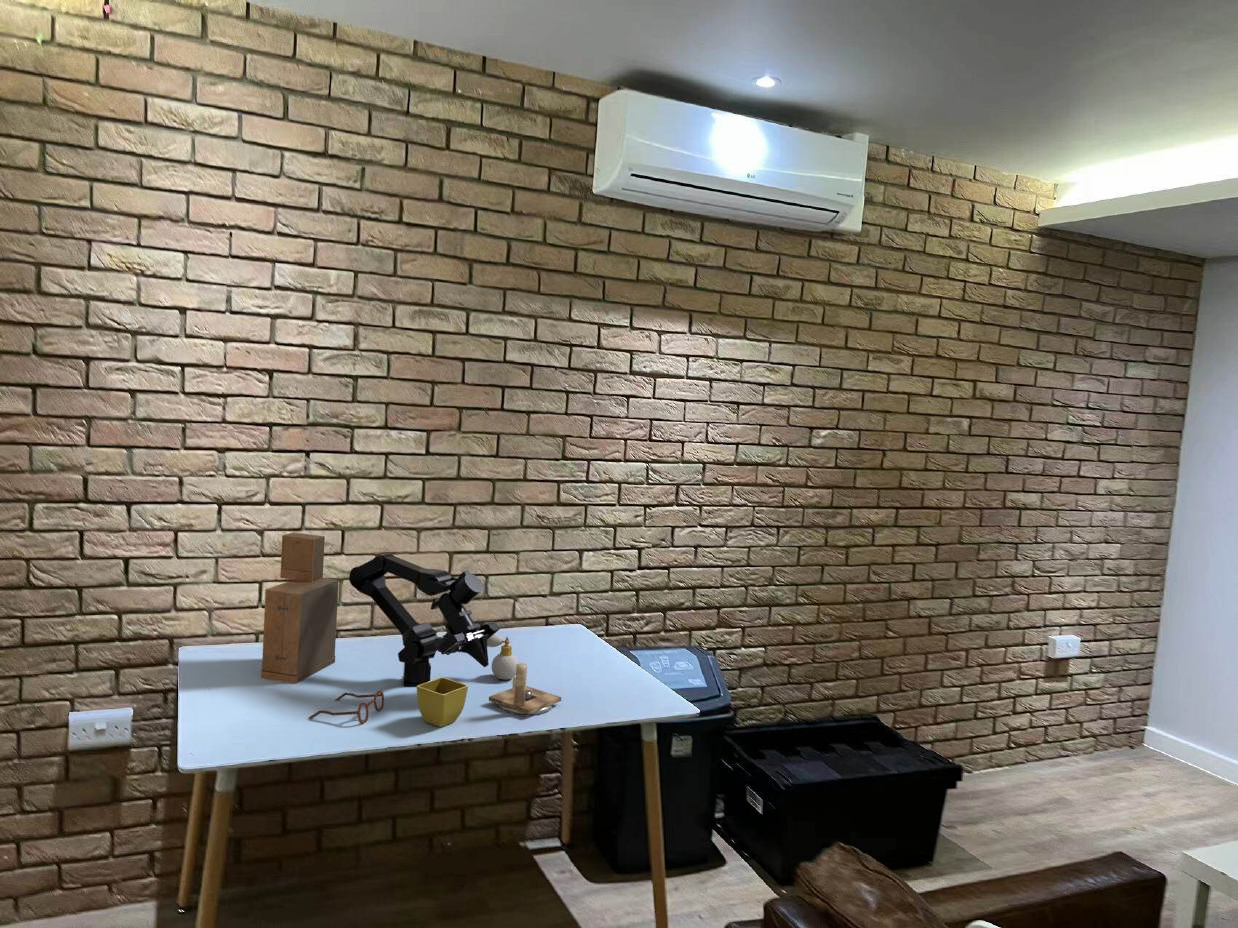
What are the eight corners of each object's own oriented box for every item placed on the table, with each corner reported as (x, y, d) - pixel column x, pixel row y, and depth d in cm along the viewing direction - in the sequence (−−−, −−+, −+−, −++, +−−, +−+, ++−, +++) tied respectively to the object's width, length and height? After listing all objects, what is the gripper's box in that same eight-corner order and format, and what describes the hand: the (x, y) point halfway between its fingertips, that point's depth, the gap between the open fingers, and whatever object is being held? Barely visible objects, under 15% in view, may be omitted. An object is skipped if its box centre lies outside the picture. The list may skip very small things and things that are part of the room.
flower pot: (440, 732, 204) (443, 694, 203) (413, 722, 208) (415, 685, 207) (466, 722, 211) (469, 685, 210) (439, 712, 216) (441, 676, 215)
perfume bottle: (521, 681, 242) (524, 639, 241) (486, 684, 238) (489, 640, 237) (513, 673, 249) (516, 631, 248) (479, 674, 245) (482, 632, 244)
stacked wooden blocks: (288, 655, 249) (294, 532, 246) (335, 662, 246) (341, 537, 243) (247, 675, 230) (252, 542, 227) (296, 683, 228) (303, 548, 225)
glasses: (360, 728, 204) (361, 706, 203) (308, 720, 206) (309, 699, 205) (385, 708, 217) (386, 688, 216) (335, 701, 219) (336, 681, 218)
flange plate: (528, 714, 216) (531, 670, 215) (488, 700, 223) (491, 657, 222) (561, 700, 227) (564, 658, 226) (521, 688, 234) (524, 647, 233)
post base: (501, 716, 216) (502, 700, 216) (491, 691, 233) (492, 677, 232) (557, 714, 220) (559, 698, 220) (543, 690, 237) (545, 676, 236)
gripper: (458, 624, 239) (488, 674, 235) (412, 638, 222) (442, 691, 218) (485, 601, 235) (515, 652, 231) (439, 613, 218) (471, 667, 214)
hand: (486, 666), depth 223 cm, fingers closed
